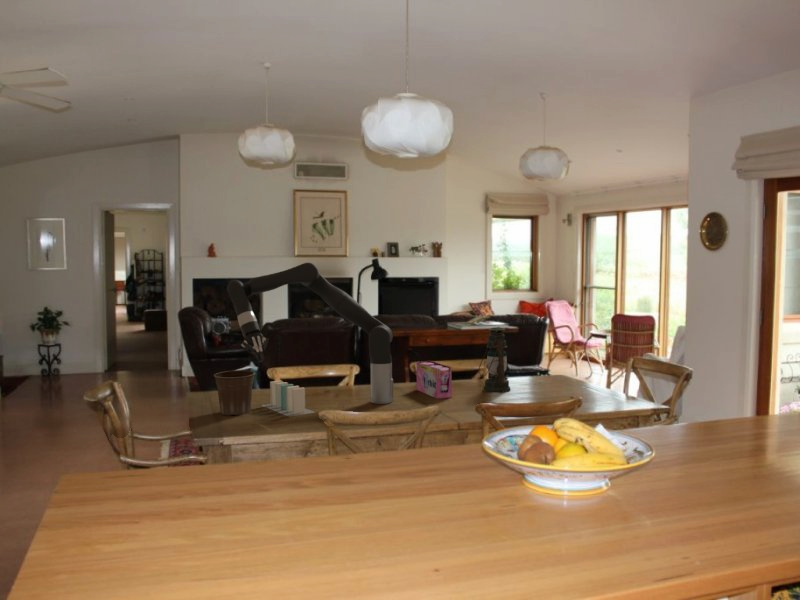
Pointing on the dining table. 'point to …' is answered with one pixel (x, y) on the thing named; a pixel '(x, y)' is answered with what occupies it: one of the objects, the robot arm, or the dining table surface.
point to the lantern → (496, 362)
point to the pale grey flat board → (285, 410)
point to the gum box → (434, 379)
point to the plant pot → (235, 391)
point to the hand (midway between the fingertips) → (261, 361)
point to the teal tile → (284, 396)
